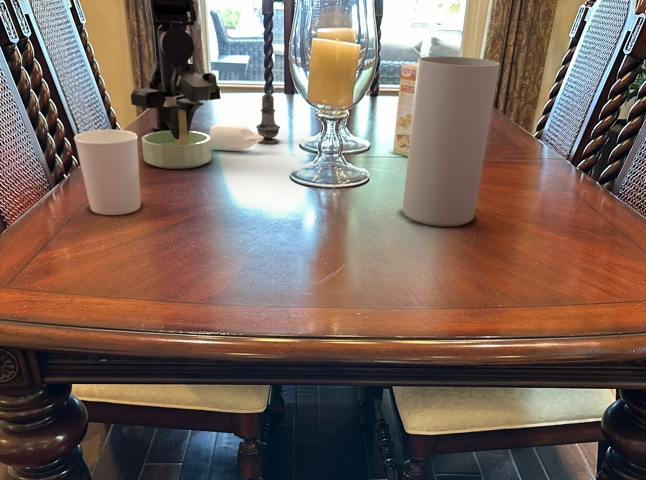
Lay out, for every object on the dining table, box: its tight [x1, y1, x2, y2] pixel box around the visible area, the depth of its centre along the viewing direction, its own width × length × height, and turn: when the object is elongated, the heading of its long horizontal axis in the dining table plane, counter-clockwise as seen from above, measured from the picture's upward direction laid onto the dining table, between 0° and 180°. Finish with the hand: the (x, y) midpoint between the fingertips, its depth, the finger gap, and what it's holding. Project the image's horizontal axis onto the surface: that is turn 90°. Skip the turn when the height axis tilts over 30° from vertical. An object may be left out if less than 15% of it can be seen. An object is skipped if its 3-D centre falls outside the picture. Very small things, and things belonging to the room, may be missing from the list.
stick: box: [175, 110, 188, 145], centre depth 128 cm, size 2×2×9 cm
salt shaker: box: [255, 89, 281, 145], centre depth 148 cm, size 6×6×12 cm
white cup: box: [73, 129, 142, 216], centre depth 102 cm, size 10×10×12 cm
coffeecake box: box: [392, 63, 418, 158], centre depth 143 cm, size 15×7×20 cm, turn 131°
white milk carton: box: [208, 124, 264, 152], centre depth 141 cm, size 6×12×6 cm, turn 83°
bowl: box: [141, 130, 212, 170], centre depth 131 cm, size 14×14×5 cm
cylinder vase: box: [402, 55, 501, 228], centre depth 101 cm, size 12×12×25 cm
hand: (180, 138), depth 128 cm, fingers closed on stick, 2 cm apart
